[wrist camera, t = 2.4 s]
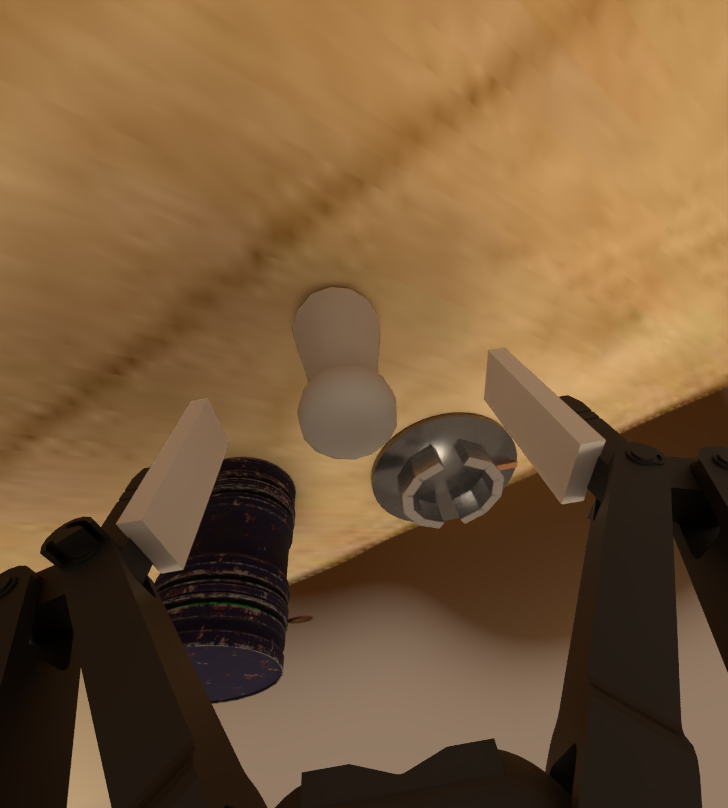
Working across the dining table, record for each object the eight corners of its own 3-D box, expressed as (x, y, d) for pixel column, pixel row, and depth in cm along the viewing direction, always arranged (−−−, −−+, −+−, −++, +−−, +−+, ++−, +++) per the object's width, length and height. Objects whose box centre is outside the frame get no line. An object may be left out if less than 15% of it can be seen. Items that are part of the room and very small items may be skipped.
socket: (379, 526, 39) (384, 553, 36) (362, 428, 30) (366, 453, 27) (504, 503, 39) (518, 528, 36) (522, 399, 30) (542, 421, 28)
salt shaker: (281, 332, 24) (251, 454, 13) (319, 260, 22) (320, 340, 11) (349, 367, 26) (369, 495, 16) (390, 306, 24) (448, 409, 13)
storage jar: (214, 441, 29) (138, 634, 17) (314, 476, 33) (311, 653, 21) (179, 509, 33) (99, 702, 21) (271, 532, 37) (249, 708, 25)
